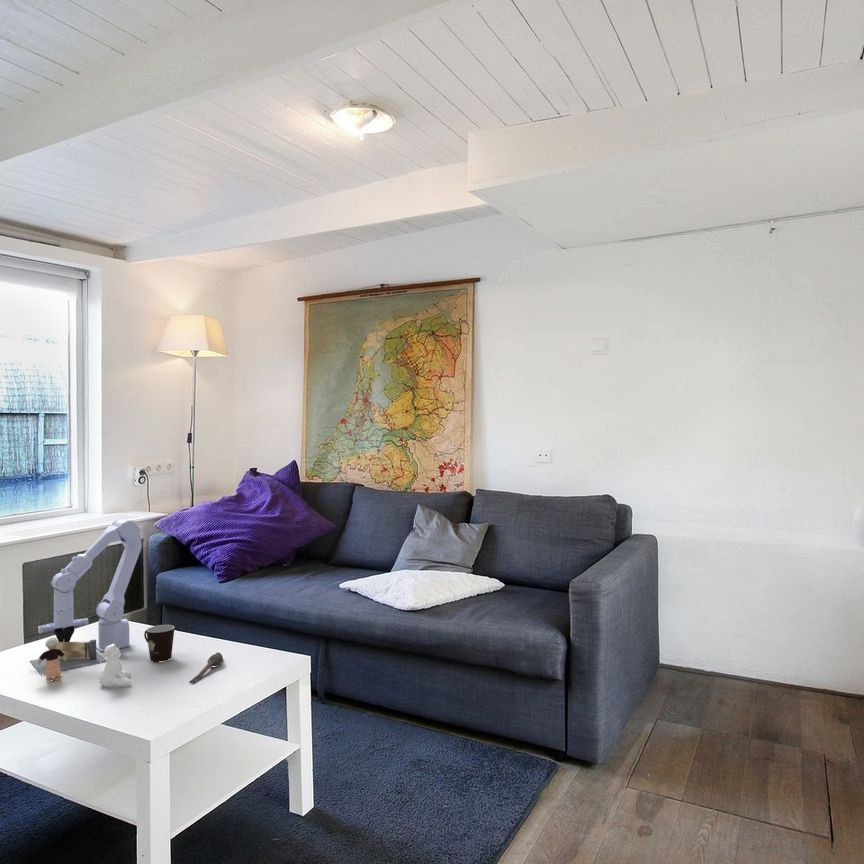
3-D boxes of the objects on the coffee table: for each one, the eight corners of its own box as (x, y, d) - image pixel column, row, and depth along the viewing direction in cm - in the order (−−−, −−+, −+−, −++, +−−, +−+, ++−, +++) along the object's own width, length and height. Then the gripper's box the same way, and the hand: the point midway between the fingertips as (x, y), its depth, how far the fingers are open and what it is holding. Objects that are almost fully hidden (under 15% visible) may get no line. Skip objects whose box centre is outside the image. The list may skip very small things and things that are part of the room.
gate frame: (93, 649, 234) (92, 628, 234) (107, 661, 221) (107, 639, 221) (29, 661, 222) (29, 639, 222) (41, 675, 209) (40, 652, 209)
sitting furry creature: (131, 687, 199) (131, 646, 199) (99, 692, 195) (98, 650, 195) (130, 676, 207) (130, 637, 207) (98, 681, 203) (98, 641, 203)
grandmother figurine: (63, 674, 209) (63, 633, 209) (67, 677, 207) (67, 636, 206) (35, 681, 204) (35, 639, 204) (39, 684, 201) (39, 641, 201)
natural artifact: (225, 663, 223) (232, 653, 223) (191, 686, 201) (199, 675, 200) (216, 655, 223) (223, 645, 223) (181, 677, 201) (189, 666, 201)
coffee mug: (177, 660, 222) (177, 629, 222) (149, 665, 217) (149, 634, 217) (169, 650, 231) (168, 621, 231) (142, 655, 227) (141, 625, 226)
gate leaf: (90, 656, 224) (89, 641, 224) (88, 658, 222) (87, 642, 222) (52, 657, 223) (52, 642, 223) (50, 658, 222) (50, 643, 222)
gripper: (84, 603, 233) (84, 643, 234) (36, 610, 224) (36, 652, 224) (89, 607, 228) (90, 647, 228) (40, 615, 219) (41, 657, 219)
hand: (63, 650), depth 226 cm, fingers closed
